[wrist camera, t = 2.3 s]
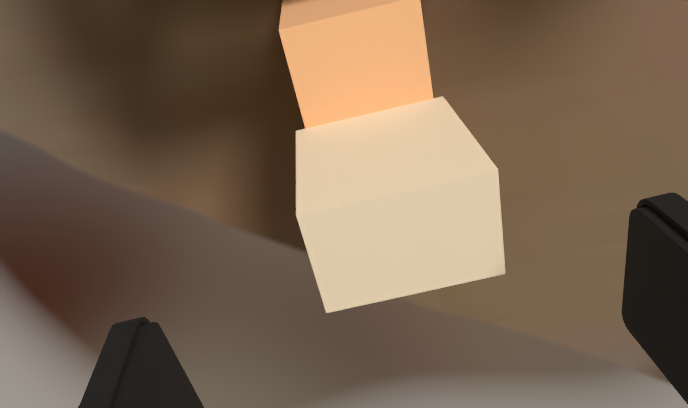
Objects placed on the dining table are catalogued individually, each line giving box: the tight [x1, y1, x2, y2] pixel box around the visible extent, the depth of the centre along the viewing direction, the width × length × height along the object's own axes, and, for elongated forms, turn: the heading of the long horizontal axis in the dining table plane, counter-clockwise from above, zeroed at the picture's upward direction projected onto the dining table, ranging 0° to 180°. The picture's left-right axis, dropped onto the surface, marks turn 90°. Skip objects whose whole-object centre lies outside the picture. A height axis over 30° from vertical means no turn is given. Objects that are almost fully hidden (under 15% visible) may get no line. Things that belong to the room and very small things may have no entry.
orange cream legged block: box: [279, 0, 505, 313], centre depth 20 cm, size 9×5×17 cm, turn 12°
